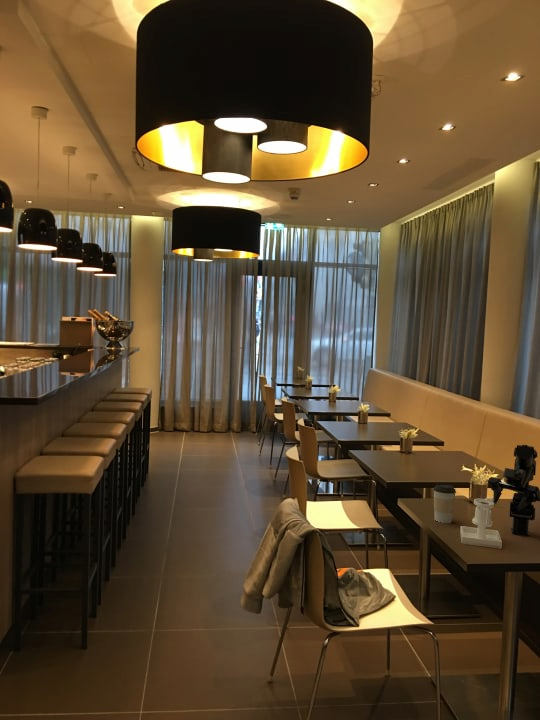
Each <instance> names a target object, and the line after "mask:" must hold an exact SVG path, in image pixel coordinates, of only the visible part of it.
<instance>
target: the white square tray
mask: <svg viewBox="0 0 540 720" xmlns="http://www.w3.org/2000/svg"><path fill="white" fill-rule="evenodd" d="M459 531H460V532H459V533H460V540H461V544H464V545H470V546H477V547H478V546H479V547H484V548H485V547H486V548H493V549H500V550H501V549H502V546H503V541H502V537H501V536H500V533H499V530H496V529H495V530H494V529H488V528H486V536H485V539H481V538H477V527H471V526H464V525H460V530H459Z"/></svg>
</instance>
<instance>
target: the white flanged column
mask: <svg viewBox="0 0 540 720" xmlns="http://www.w3.org/2000/svg"><path fill="white" fill-rule="evenodd" d="M493 501H494V499H493V497H492V498H491V497H490V498H489V497H486V498H474V499H473V504H474V505H475V510H474V517H473V518H472V521H471V522H472V524H474V525H476V528H477V538H481V539H485V536H486V529H487V528H490V527H491V528H492V526H493V521H492V510H491V509H494V507H495V505H494V502H493Z"/></svg>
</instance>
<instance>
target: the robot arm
mask: <svg viewBox="0 0 540 720" xmlns="http://www.w3.org/2000/svg"><path fill="white" fill-rule="evenodd" d="M513 457H515V459H514V467H513V468H507V467H505V468H504V471H503V474H502V477H504V478H505V482H507V483H505V482H502V480H501V478H498V477H493V476H490V477H489V478H488V480H487V483H488V485H489V488H490V490H491V491H493V497H492V499H494V501H493V502H494V506H495V505H497V503H498V501H499V500H500V498H501V497H502V493H503V490H509V491H512V492H514V493H513V496H512V499H511V500H512V501H511V500H510V501H509V502H510V503H509V517H510V518H512V527H510V531H511V534H512V535H518V536H525V537H531V534H530V530H529V529H530V528H529V525H530V521H534V520H536V508H535V506H534V505H535V504H533V503H536V502H540V488H539V486H538V485H537V486H536V485H531V484H530V482H532V481H533V480H534V477H535V476H536V473H537V472H536V471H537V461H536V460H535V459H536V458H538V452H537V450H536V449H535V447H534V446H531V445H527V444H522V445H521V444H517V445H516V447H514V450H513Z"/></svg>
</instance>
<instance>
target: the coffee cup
mask: <svg viewBox="0 0 540 720" xmlns="http://www.w3.org/2000/svg"><path fill="white" fill-rule="evenodd" d="M456 493H457V491H456V488H455V487H454V485H452V484H448V483H439V482H437V483H436V484H435V486H434V487H433V511H434V521H435V520H436V521H438V522H437V523H440V522H441V523H440V524H451V523H452V521H453V515H454V508H455V503H456ZM436 521H435V522H436Z"/></svg>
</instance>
